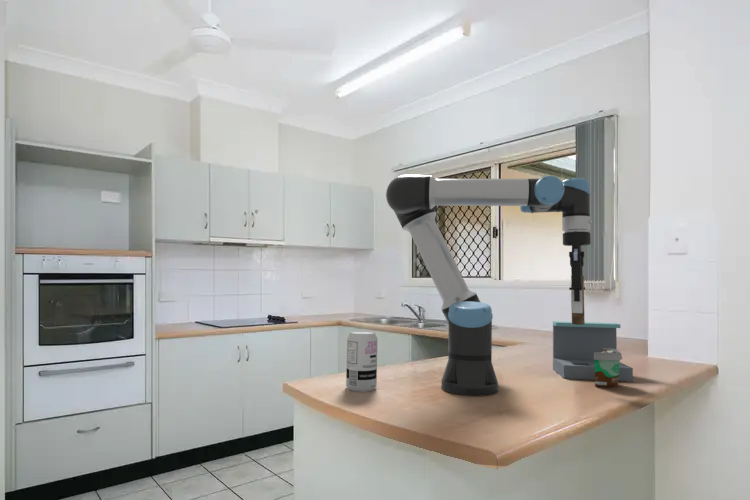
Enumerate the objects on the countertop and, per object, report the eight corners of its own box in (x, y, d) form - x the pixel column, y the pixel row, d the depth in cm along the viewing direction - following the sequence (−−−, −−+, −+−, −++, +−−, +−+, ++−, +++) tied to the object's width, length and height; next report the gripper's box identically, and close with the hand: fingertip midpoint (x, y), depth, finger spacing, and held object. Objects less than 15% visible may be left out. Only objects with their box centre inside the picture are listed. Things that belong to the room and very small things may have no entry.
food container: (617, 391, 132) (617, 354, 133) (593, 387, 136) (593, 352, 136) (626, 383, 142) (626, 349, 142) (603, 380, 146) (603, 347, 146)
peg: (571, 324, 138) (570, 275, 139) (572, 323, 141) (571, 275, 142) (584, 324, 137) (583, 275, 137) (584, 323, 140) (583, 275, 141)
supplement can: (350, 384, 134) (351, 330, 135) (379, 386, 133) (380, 331, 133) (342, 391, 126) (343, 333, 127) (373, 393, 125) (374, 334, 125)
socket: (563, 378, 148) (563, 325, 149) (552, 369, 162) (552, 321, 162) (632, 381, 145) (632, 327, 146) (615, 372, 159) (615, 323, 160)
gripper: (589, 228, 132) (591, 315, 130) (591, 233, 146) (592, 311, 145) (560, 229, 135) (561, 313, 133) (564, 234, 149) (566, 310, 148)
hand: (577, 312), depth 139 cm, fingers closed on peg, 3 cm apart
